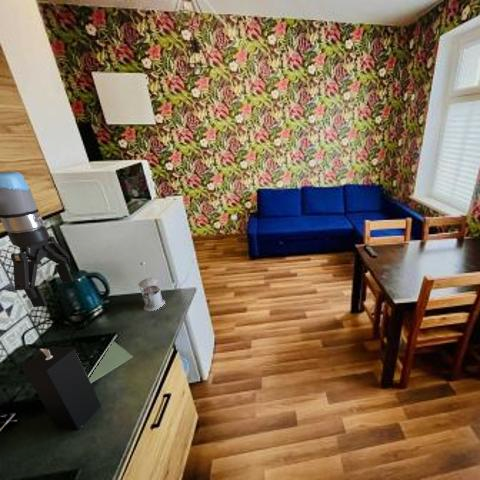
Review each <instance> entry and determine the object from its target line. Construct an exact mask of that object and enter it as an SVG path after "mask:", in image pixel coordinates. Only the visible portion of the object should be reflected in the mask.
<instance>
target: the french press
mask: <svg viewBox="0 0 480 480" xmlns="http://www.w3.org/2000/svg"><path fill="white" fill-rule="evenodd" d="M145 265H146V262H145V261H141V262H140V266H142V268H143V271H144V274H145V277H146V278H145V279H142V280H141V281H140V282H139V283H138V286H139V289H140V291H141V295H142V296H141V297H142V300H143V302H144V306H143V311H145V312H155V311H157V309H158V310H160V309H161V308H160V307H162V306H163V305H164V304H165V305H166V303H165V302H166V301H165V300H164V299H163V296H162V293H161V289H160V288H159V286H158V285H156V284H158V278H155V277H148V276H147V273H146V270H145V269H146V268H145ZM142 288H143V289H142ZM165 305H164V306H165ZM164 306H163V307H164ZM163 307H162V308H163ZM159 308H160V309H159ZM154 310H155V311H154Z"/></svg>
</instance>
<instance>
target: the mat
mask: <svg viewBox="0 0 480 480" xmlns="http://www.w3.org/2000/svg"><path fill="white" fill-rule="evenodd" d="M133 357H134V356H133V354H130V353H129V351H127V350H126V349H125V348H123V347H122V346H121V345H119V344H118V343H117V342H116V341H114V342H113V343H112V345H111V346H110V347H109V349H108V351H107V352H106V354H105V356H104V357H103V359H102V360H101V361H100V363H99V365H98V366H97V367H96V369H95V370H94V372H93V374H92V375H91V377H90V378H89V381H90V383H91V384H92V383H94V382H96V381H97V380H99V379H101V378H102V377H103V376H105V375H107V374H108V373H110V372H111V371H113V370H115V369H116V368H117V367H119V366H121V365H122V364H124V363H126V362H127V361H129V360H130V359H132V358H133Z"/></svg>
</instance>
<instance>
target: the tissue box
mask: <svg viewBox="0 0 480 480" xmlns="http://www.w3.org/2000/svg"><path fill="white" fill-rule="evenodd" d="M39 350H40V351H41V352H40V353H39V354H38V355H37V356H35V357H33V358H32V359H31V360H30V361H28V362H27V363H26V364H24V365H23V366H21V370H22V371H23V373H24V374H25V376H26V378H27V379H28V381H29V383H30V384H31V386H32V387H33V390H34V391H35V393H36V394H37V396H38V398H39V400H40V401H41V403H42V405H43V406H44V408H45V410H46V411H47V413H48V415H49V417H50V418H51V420H52V422H53V424H54V425H55V427H56V428H63V429H69V430H73V431H79V430H81V429H82V428H83V427H84V425H85V424H86V423H88V421H89V420H90V419H91V418H92V417H93V416H94V415H95V413H97V412H98V411H99V409H100V408H101V407H102V404H101V402H100V400H99V398H98V396H97V394H96V391H95V389H94V387H93V385H92V383H90V381H89V379H88V376H87V374H86V372H85V370H84V368H83V366H82V364H81V361H80V359H79V357H78V355H77V354H78V353H77V349H76V348H73V347H66V346H56V345H50V347H48V348H39Z"/></svg>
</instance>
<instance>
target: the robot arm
mask: <svg viewBox="0 0 480 480" xmlns="http://www.w3.org/2000/svg"><path fill="white" fill-rule="evenodd" d="M31 190H32V189H31V187H30V186H29V185H28V183H27V181H26V178H25V177H24V175H23V174H22V173H21V172H18V171H12V170H11V171H10V170H9V171H8V170H7V171H0V222H1V225H2V226H3V229H4V231H5V232H7V236H8V238H9V240H10V243H11V244H12V245H13V246H14V247H18V248H19V252H18V253H11V254H10V258H11V261H12V269H13V286H14V291H16V292H17V291H24V292H25V294H26V297H27V298H28V300H30V303H31V305H32V306H33V308H40V307H46V306H47V305H48V303H47V300H46V299H45V296H44V295H43V292H42V291H41V288H40V286H39V285H38V284H36V283H37V274H38V266H39V265H40V264H41V261H42V260H43V259H44V258H46V259H48V260H50V261H51V262H53V263H55V265H54V268H55V269H56V272H57V274H58V276H59V279H60V281H61V283H62V284H65V283H73V282H74V279H73V276H72V274H71V271H70V269H69V266H68V263H70V262H71V257H70V254H69V253H68V252H67V251H66V250H64V248H63V247H62V246H61V245H60V244H59V243H58V242H57V240H56V238H55V236H53V235H52V236H50V234H49V232H48V230H47V227H46V226H44V225H45V223H44V221H43V217H42V216H41V214H40V210H39V209H38V205H37V204H36V201H35V199H34V196H33V193H32V191H31Z"/></svg>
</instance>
